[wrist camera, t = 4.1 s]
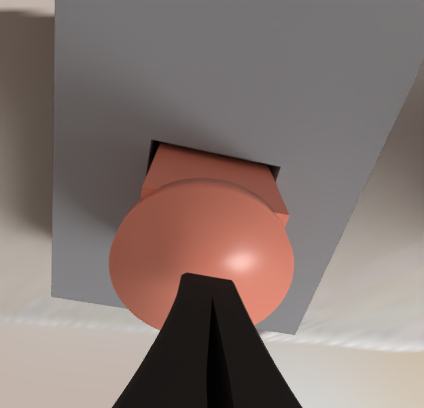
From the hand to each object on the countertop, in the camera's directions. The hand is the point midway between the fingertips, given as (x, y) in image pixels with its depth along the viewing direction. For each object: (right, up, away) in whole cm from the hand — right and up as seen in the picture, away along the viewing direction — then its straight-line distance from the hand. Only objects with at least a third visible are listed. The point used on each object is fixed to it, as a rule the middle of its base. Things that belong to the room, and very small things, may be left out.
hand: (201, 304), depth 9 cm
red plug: (0, +3, +6) cm, 6 cm away
